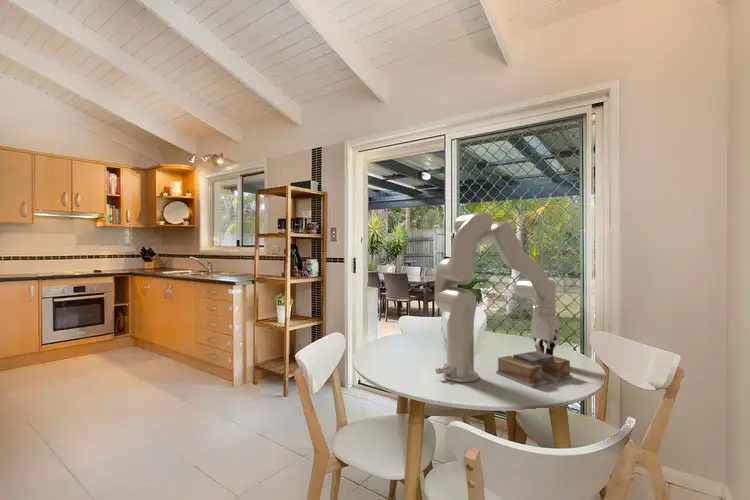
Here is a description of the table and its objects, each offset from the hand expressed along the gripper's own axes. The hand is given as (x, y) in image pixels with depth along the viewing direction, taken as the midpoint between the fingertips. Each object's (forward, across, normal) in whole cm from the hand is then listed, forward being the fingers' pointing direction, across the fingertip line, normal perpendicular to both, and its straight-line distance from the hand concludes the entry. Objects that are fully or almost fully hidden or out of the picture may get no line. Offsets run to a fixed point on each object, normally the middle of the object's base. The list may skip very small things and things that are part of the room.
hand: (544, 356), depth 147 cm
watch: (+3, 0, 0) cm, 3 cm away
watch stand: (+3, +8, -16) cm, 18 cm away
